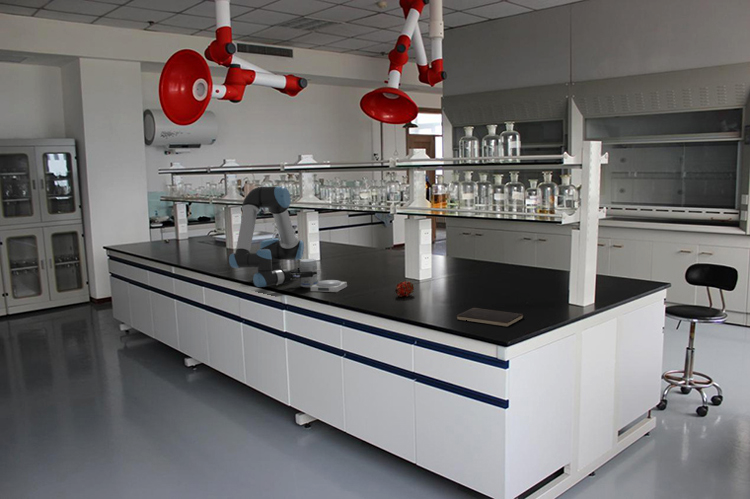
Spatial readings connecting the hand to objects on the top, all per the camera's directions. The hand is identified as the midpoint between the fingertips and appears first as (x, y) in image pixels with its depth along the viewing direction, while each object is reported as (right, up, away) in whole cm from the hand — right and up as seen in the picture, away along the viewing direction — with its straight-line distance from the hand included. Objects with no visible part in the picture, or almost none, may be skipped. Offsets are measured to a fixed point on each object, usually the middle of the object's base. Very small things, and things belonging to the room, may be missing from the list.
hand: (315, 270), depth 332 cm
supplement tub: (-3, -9, -2) cm, 9 cm away
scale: (+9, -9, -11) cm, 17 cm away
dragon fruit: (+48, -12, -36) cm, 61 cm away
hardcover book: (+82, -18, -83) cm, 118 cm away
